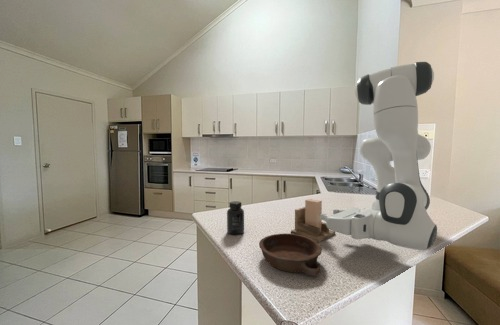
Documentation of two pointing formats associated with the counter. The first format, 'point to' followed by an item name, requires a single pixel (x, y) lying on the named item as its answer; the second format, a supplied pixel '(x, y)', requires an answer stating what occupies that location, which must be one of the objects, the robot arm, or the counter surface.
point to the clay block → (313, 212)
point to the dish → (292, 253)
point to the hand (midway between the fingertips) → (327, 213)
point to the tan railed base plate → (310, 228)
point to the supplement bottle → (235, 218)
